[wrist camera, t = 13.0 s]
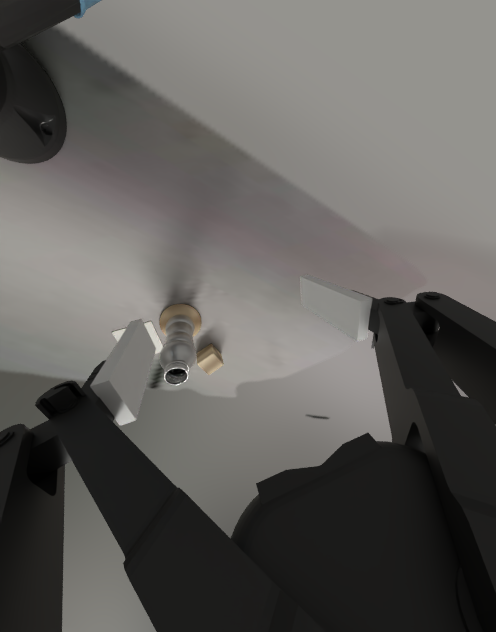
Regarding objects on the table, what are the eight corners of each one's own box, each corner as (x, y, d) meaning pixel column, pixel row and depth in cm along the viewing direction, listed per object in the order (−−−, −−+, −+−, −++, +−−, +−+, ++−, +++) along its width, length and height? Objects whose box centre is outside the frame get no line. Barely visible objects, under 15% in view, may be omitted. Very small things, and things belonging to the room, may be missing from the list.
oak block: (196, 353, 54) (197, 364, 49) (211, 343, 54) (213, 353, 49) (207, 363, 56) (208, 375, 52) (221, 354, 56) (223, 364, 52)
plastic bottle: (161, 317, 46) (145, 370, 29) (188, 307, 47) (188, 353, 30) (173, 338, 49) (164, 398, 32) (198, 328, 50) (203, 382, 33)
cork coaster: (153, 310, 46) (152, 311, 45) (194, 299, 47) (194, 300, 47) (168, 344, 50) (168, 345, 50) (205, 332, 52) (205, 333, 51)
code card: (112, 332, 45) (111, 332, 45) (151, 321, 47) (151, 321, 47) (129, 361, 49) (129, 361, 49) (164, 350, 51) (164, 350, 51)
